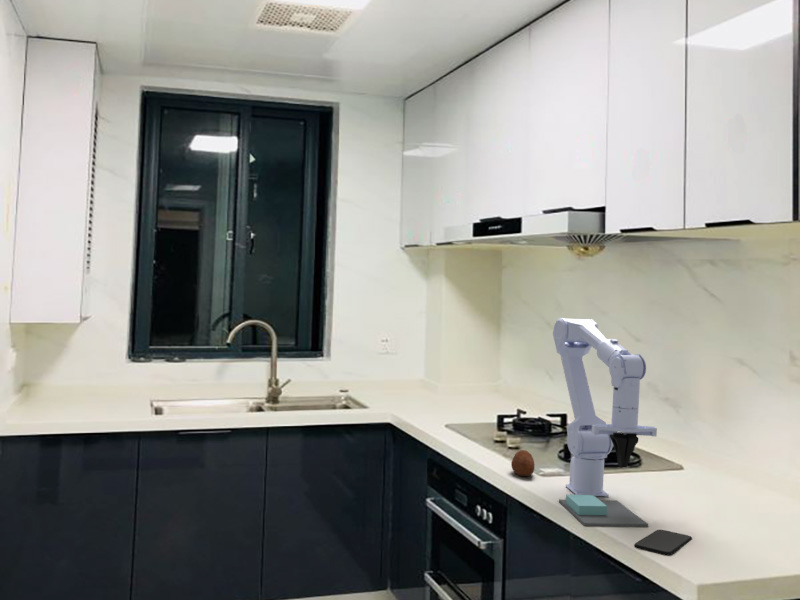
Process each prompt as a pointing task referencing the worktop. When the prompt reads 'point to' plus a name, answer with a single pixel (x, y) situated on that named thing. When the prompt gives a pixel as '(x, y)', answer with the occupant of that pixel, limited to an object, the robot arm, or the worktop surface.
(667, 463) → the worktop surface
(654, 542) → the smartphone
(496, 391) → the worktop surface
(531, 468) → the potato
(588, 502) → the block
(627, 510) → the mat
